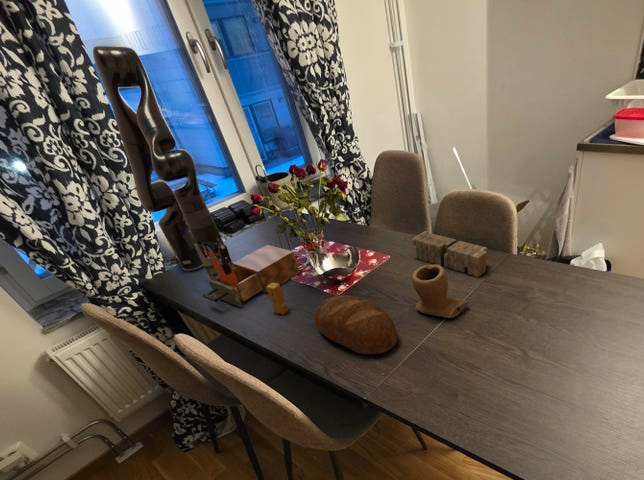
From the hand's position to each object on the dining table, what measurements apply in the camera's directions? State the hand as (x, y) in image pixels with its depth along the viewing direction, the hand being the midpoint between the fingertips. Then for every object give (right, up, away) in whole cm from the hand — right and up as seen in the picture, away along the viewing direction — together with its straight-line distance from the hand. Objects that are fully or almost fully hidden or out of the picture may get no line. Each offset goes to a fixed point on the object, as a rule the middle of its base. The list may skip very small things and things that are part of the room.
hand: (223, 271), depth 131 cm
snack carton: (+1, -4, +4) cm, 5 cm away
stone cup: (+72, -15, -10) cm, 75 cm away
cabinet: (+10, +1, +16) cm, 19 cm away
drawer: (+2, -7, +7) cm, 10 cm away
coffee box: (-10, +2, +21) cm, 23 cm away
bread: (+47, -22, -15) cm, 55 cm away
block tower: (+78, +6, +13) cm, 79 cm away
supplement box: (+21, -14, -2) cm, 25 cm away
